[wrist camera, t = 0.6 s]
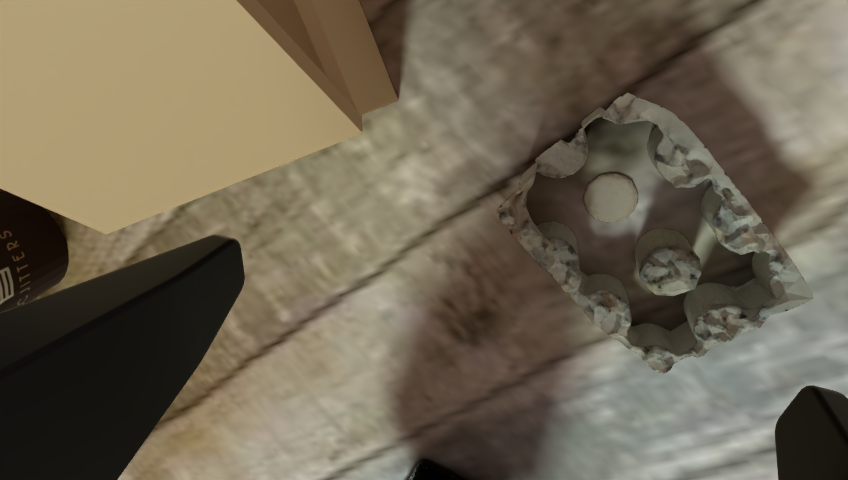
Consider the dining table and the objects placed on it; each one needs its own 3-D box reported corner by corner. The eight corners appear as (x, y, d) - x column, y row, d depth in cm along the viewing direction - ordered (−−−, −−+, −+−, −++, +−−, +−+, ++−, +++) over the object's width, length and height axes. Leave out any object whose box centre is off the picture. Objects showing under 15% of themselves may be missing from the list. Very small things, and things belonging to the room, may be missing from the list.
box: (398, 100, 24) (359, 115, 20) (183, 187, 28) (111, 217, 24) (283, -193, 21) (205, -255, 16) (63, -43, 26) (-45, -60, 21)
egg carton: (495, 183, 25) (482, 209, 21) (638, 69, 22) (652, 76, 18) (637, 350, 26) (648, 403, 22) (791, 265, 23) (835, 310, 19)
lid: (361, 115, 19) (362, 137, 19) (109, 218, 24) (105, 238, 24) (14, -267, 10) (-2, -242, 9) (-301, 29, 14) (-323, 56, 14)
